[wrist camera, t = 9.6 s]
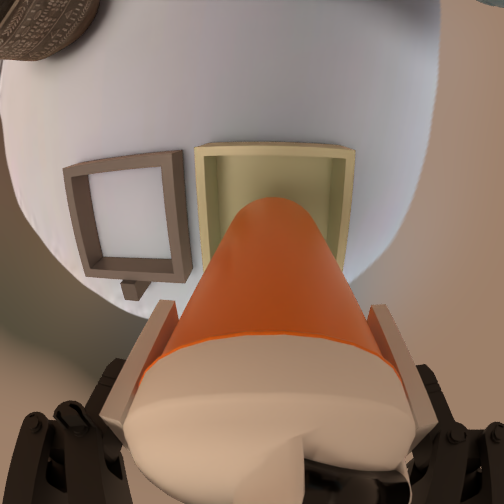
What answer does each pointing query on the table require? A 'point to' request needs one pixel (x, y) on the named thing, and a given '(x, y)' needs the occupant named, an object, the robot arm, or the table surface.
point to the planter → (42, 26)
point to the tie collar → (180, 266)
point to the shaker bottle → (273, 380)
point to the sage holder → (274, 186)
